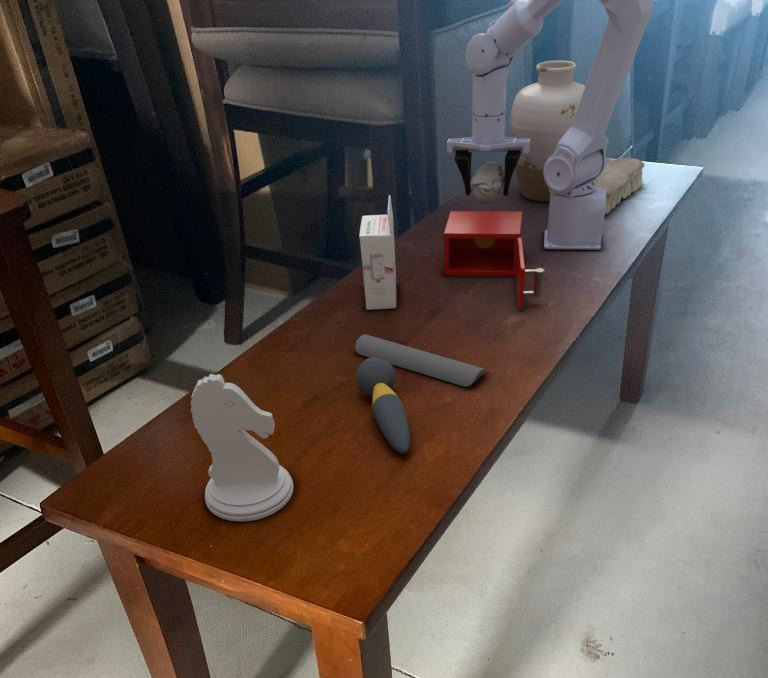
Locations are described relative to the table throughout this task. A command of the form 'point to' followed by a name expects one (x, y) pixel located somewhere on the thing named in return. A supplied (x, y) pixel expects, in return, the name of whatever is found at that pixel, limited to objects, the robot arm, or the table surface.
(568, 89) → the vase
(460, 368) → the gray half cylinder
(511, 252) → the cabinet
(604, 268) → the table surface
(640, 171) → the shoe brush
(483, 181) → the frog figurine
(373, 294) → the ink cartridge box
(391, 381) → the wand massager
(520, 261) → the red cabinet door
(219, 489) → the chess piece
